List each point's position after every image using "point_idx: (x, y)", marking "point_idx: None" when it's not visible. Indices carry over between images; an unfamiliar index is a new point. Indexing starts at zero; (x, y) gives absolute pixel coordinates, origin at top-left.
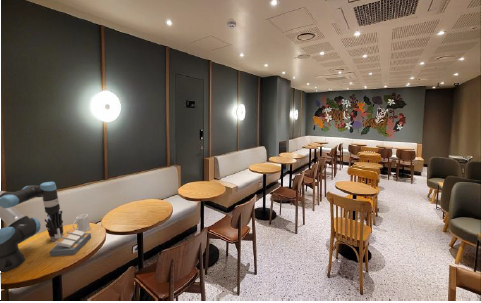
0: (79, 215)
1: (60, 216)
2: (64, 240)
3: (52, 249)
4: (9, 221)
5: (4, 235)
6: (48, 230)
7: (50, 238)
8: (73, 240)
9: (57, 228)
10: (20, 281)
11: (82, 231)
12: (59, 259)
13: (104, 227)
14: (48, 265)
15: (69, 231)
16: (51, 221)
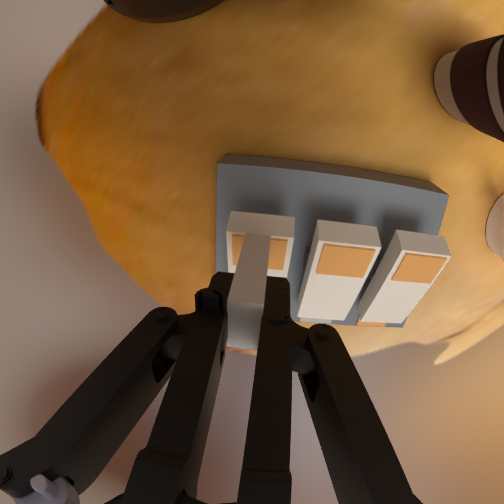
0: None
1: (336, 496)
2: (268, 272)
3: (239, 171)
4: None
5: None
6: (485, 48)
7: (451, 53)
8: (300, 298)
9: (254, 334)
10: (45, 148)
11: (408, 313)
12: (187, 230)
13: (476, 322)
14: (138, 200)
15: (406, 263)
16: (87, 473)
